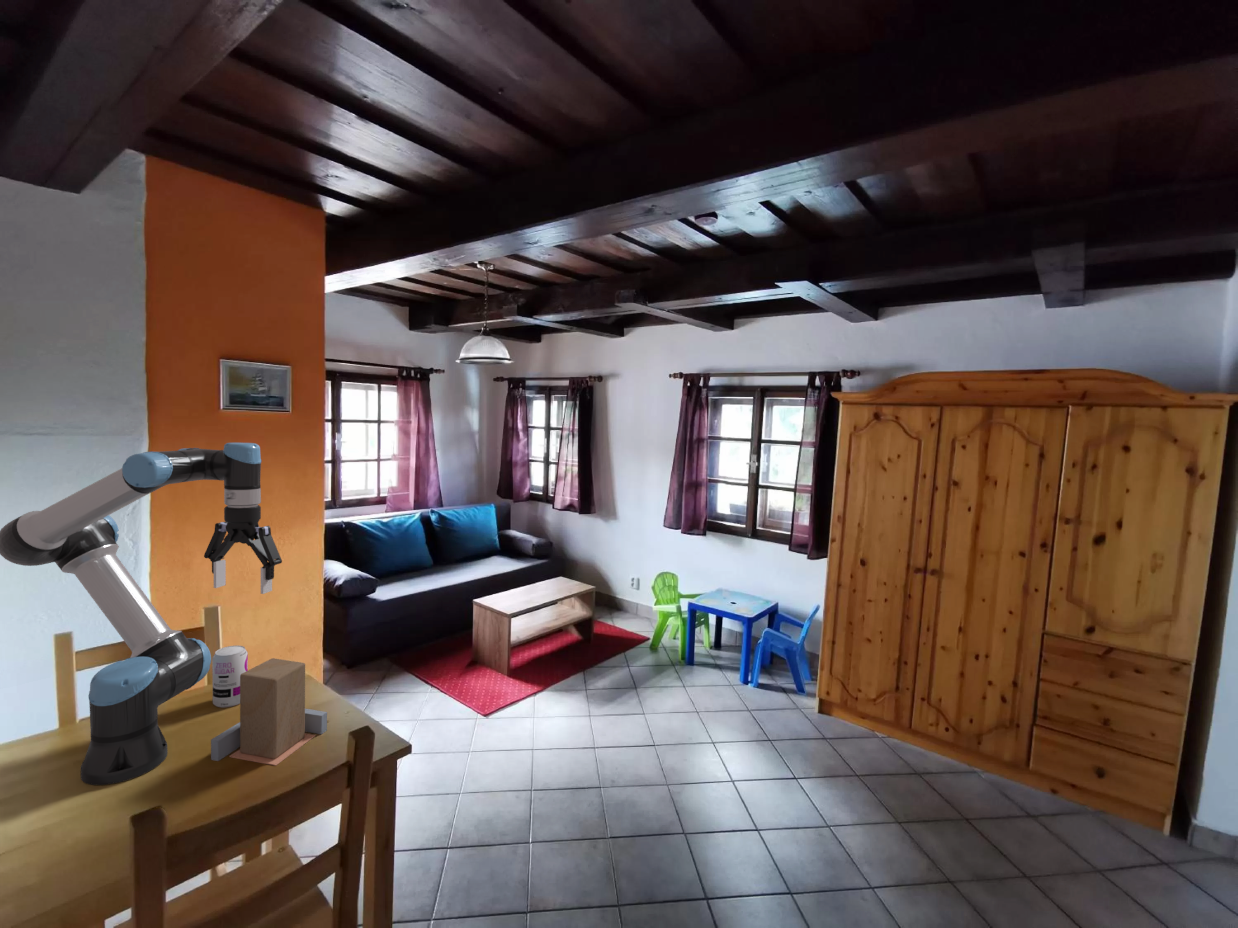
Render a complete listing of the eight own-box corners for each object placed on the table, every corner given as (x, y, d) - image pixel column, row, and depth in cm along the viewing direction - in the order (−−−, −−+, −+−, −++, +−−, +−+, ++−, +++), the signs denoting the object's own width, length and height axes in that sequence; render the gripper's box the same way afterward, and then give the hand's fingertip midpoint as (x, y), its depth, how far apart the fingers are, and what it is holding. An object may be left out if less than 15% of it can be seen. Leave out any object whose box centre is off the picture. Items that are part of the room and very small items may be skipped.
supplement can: (245, 691, 166) (245, 642, 164) (249, 703, 159) (249, 652, 158) (211, 699, 160) (211, 648, 159) (214, 711, 154) (213, 658, 153)
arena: (207, 758, 134) (207, 738, 133) (267, 720, 151) (268, 702, 151) (272, 771, 130) (273, 750, 130) (326, 730, 148) (327, 711, 148)
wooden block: (239, 753, 136) (239, 673, 134) (272, 731, 146) (272, 657, 144) (274, 760, 134) (275, 679, 133) (305, 737, 144) (306, 662, 142)
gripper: (186, 503, 137) (186, 588, 138) (274, 511, 132) (274, 599, 134) (213, 499, 144) (213, 580, 146) (298, 507, 140) (297, 590, 141)
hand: (242, 589), depth 140 cm, fingers open, 13 cm apart
